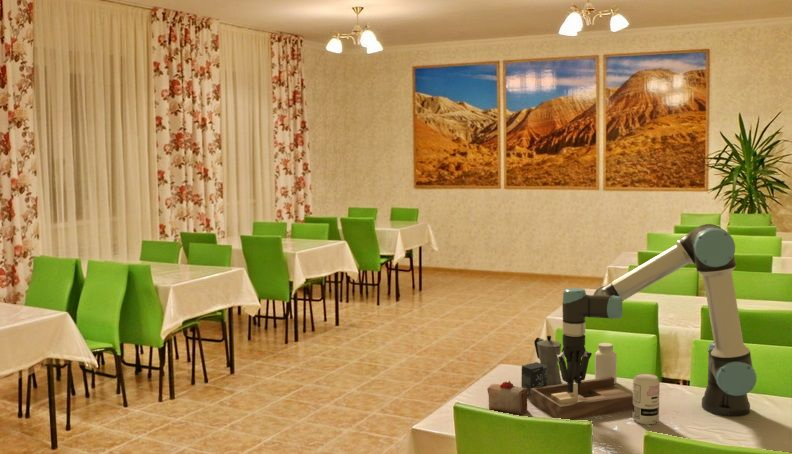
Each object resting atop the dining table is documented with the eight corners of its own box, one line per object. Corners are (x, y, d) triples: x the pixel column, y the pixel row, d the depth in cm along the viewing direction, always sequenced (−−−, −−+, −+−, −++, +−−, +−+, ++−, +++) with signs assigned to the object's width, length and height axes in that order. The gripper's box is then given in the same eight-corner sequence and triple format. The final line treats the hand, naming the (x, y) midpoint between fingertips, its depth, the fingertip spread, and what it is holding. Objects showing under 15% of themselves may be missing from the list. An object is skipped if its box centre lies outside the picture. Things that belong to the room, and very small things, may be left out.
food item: (484, 410, 256) (484, 382, 255) (493, 403, 263) (493, 376, 262) (522, 416, 249) (521, 388, 248) (530, 409, 256) (529, 381, 255)
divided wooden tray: (646, 407, 255) (646, 393, 254) (560, 421, 244) (560, 406, 243) (611, 389, 274) (611, 376, 273) (530, 402, 263) (530, 388, 262)
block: (575, 408, 250) (575, 397, 249) (560, 411, 248) (560, 399, 247) (566, 403, 255) (566, 391, 255) (551, 405, 253) (551, 394, 253)
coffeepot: (569, 383, 282) (569, 337, 280) (549, 387, 278) (549, 341, 276) (544, 373, 295) (544, 329, 293) (525, 376, 291) (525, 332, 289)
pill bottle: (590, 380, 285) (591, 342, 283) (608, 378, 287) (609, 340, 286) (602, 386, 277) (602, 348, 276) (620, 384, 280) (621, 345, 278)
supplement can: (638, 414, 249) (638, 371, 247) (662, 419, 243) (663, 375, 242) (628, 421, 242) (629, 377, 241) (653, 427, 237) (654, 382, 236)
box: (531, 397, 268) (531, 369, 267) (521, 393, 272) (520, 365, 271) (547, 392, 272) (547, 365, 271) (536, 388, 277) (536, 361, 276)
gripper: (584, 329, 256) (583, 395, 258) (551, 333, 251) (551, 400, 254) (596, 334, 249) (596, 401, 251) (563, 338, 244) (563, 407, 247)
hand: (573, 400), depth 253 cm, fingers closed
